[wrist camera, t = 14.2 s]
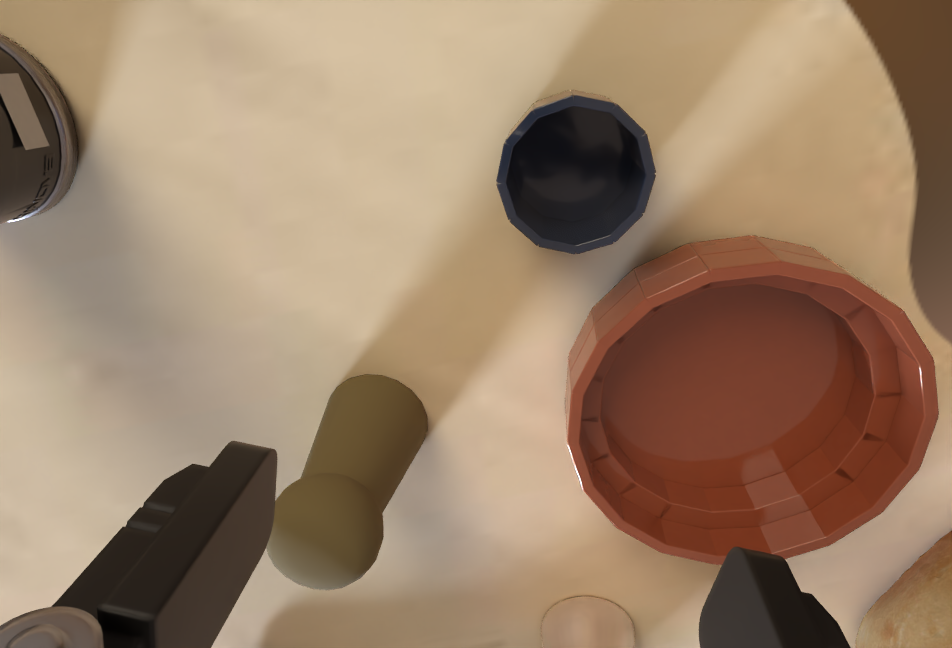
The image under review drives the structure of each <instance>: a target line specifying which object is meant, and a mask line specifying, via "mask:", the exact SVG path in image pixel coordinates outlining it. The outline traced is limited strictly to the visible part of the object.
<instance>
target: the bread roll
mask: <svg viewBox="0 0 952 648" xmlns="http://www.w3.org/2000/svg"><path fill="white" fill-rule="evenodd" d="M856 648H952V531H951V532H949V533H948V534H947V535H945V536H944V537H942V538H941V539H940V540H938V542H937V543H936V544H935V545H934V546H933V547H932V548H931V549H929V550H928V551H927V552H926V553H925V554H923V555H922V556H920V558H919V559H918V560H917V561H916V562H915V563H914V564H913V566H912V567H911V568H909V569H908V570H907V571H905V572H904V574H903V575H902V576H901V577H900V579H899V580H898V581H896V582H895V583H894V585H893V586H892V587H891V588H890V589H889V590H888V591H887V592H886V593H884V594H883V595H882V596H881V597H880V598H879V599H878V601H877V602H876V603H875V604H874V605H873V606H872V607H871V608H870V610H869V611H868V612H867V614H866V615H865V617H864V618H863V620H862V623H861V625H860V628H859V631H858V634H857V638H856Z"/></svg>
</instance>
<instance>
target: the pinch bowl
mask: <svg viewBox="0 0 952 648" xmlns="http://www.w3.org/2000/svg"><path fill="white" fill-rule="evenodd" d="M655 173H656V170H655V166H654V162H653V158H652V154H651V149H650V145H649V141H648V137H647V134H646V133H645V131H644V130H643V129H642V128H641V127H640V126H639V125H638V124H637V123H636V122H635V121H634V120H633V119H632V118H631V117H630V116H629V115H628V114H627V113H626V112H625V111H624V110H623V109H622V108H621V107H620V106H619V105H618V104H616V103H615V102H613V101H612V100H610V99H609V98H607V97H605V96H601V95H596V94H591V93H586V92H582V91H577V90H571V91H570V90H567V91H564V92H561V93H558V94H555V95H553V96H550V97H547V98H544V99H542V100H539V101H536V102H535V103H533V104H532V105H531V107H530V108H529V109H528V110H527V111H526V113H525V114H524V115H523V116H522V117H521V118H520V120H519V121H518V122H517V123H516V124H515V125H514V127H513V128H512V129H511V130H510V132H509V135H508V137H507V139H506V141H505V143H504V146H503V151H502V156H501V161H500V166H499V171H498V176H497V187H498V190H499V193H500V196H501V199H502V202H503V205H504V208H505V211H506V214H507V217H508V220H510V222H511V223H512V224H513V225H514V226H515V227H516V228H517V229H518V230H520V231H521V232H522V233H523V234H524V235H525V236H526V237H528V238H529V239H530V240H531V241H532V242H533V243H534V244H535V245H539V247H542V248H547V249H552V250H557V251H561V252H566V253H571V254H575V253H576V254H580V253H583V252H586V251H590V250H593V249H596V248H600V247H603V246H607V245H610V244H613V241H614V242H616V241H617V240H618V239H619V238H620V237H621V236H622V235H623V234H624V233H625V232H626V231H627V230H628V229H629V228H630V227H631V226H632V225H633V224H634V223H635V222H637V221H638V220H639V219H640V218H641V217H642V216H643V214H642V213H644V212H645V209H646V206H647V203H648V200H649V196H650V193H651V190H652V186H653V183H654V180H655V177H656V175H655Z"/></svg>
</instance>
